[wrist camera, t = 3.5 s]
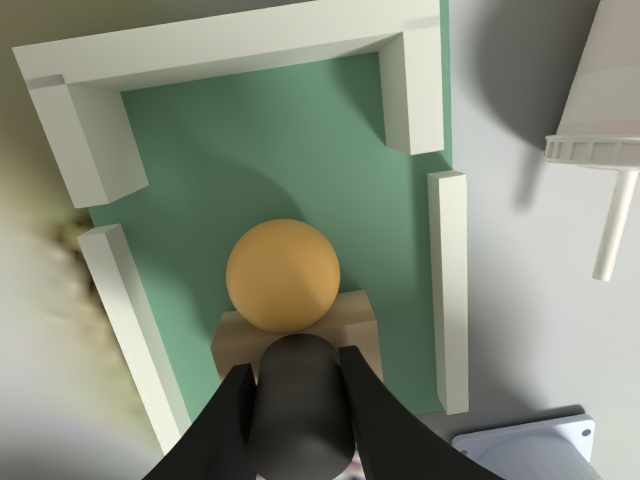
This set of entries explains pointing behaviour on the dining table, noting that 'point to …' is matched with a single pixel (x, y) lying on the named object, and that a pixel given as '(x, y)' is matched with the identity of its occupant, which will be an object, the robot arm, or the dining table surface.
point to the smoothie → (605, 116)
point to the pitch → (265, 180)
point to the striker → (300, 387)
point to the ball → (283, 275)
